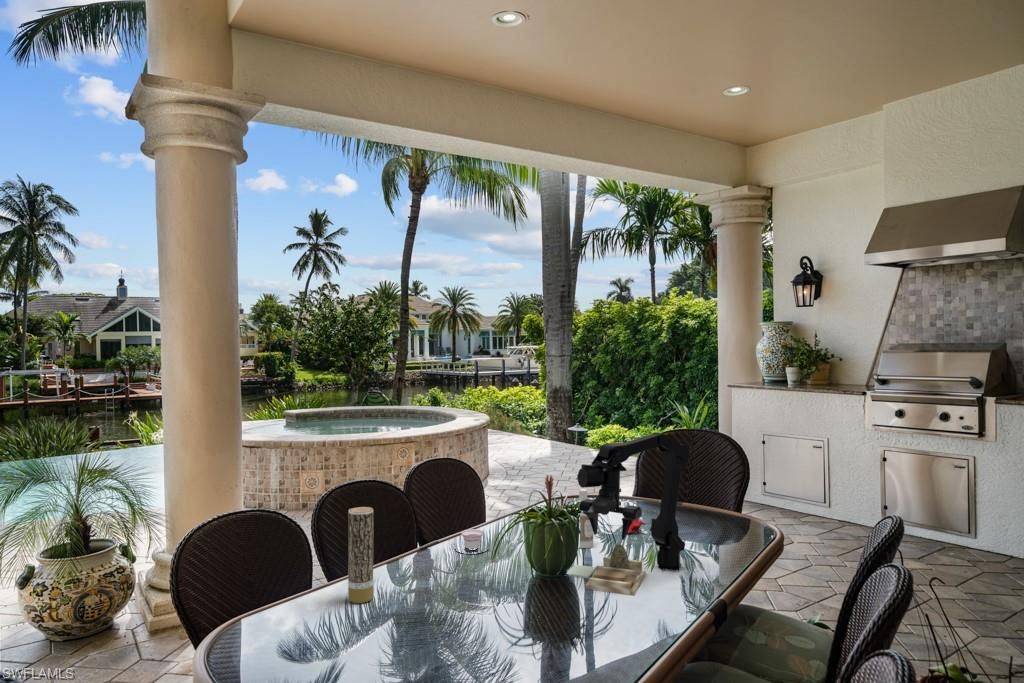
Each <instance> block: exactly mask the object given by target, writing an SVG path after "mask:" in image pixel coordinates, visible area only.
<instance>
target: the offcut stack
mask: <svg viewBox="0 0 1024 683" xmlns="http://www.w3.org/2000/svg"><path fill="white" fill-rule="evenodd" d="M594 573H595V574H593V575H594V578H598V579H605V580H613V581H621V582H628V583H631V589H632V587H633V585H634V581H633V580H627V573H620V572H612V571H603V570H597V571H596V570H595V571H594Z"/></svg>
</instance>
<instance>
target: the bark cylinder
mask: <svg viewBox="0 0 1024 683" xmlns="http://www.w3.org/2000/svg"><path fill="white" fill-rule="evenodd" d="M347 513H348V517H347V518H348V522H347V523H348V525H347V526H348V527H347V528H348V532H347V534H348V544H347V545H348V547H347V548H348V550H347V552H348V554H347V559H348V560H347V561H348V562H347V566H348V569H347V571H348V572H347V577H348V578H347V580H348V582H347V586H348V588H347V589H348V592H347V595H348V598H347V599H348V601H349V602H350V603H352V602H353V604H365V602H366V603H368V601H369V602H370V601H372V599H373V598H374V508H373V507H371V506H359V507H352V508H349V509H348V512H347Z"/></svg>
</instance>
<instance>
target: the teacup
mask: <svg viewBox="0 0 1024 683" xmlns="http://www.w3.org/2000/svg"><path fill="white" fill-rule="evenodd" d="M461 536H462V538H463V541H464V544H465V547H466V548H471V549H474V548H479V547H480V544H481V539H482V537H483V536H484V531H483V530H481V529H478V528H477V529H476V528H474V529H473V528H471V529H470V528H469V529H465V530H463V531H461Z"/></svg>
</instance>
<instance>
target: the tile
mask: <svg viewBox="0 0 1024 683" xmlns="http://www.w3.org/2000/svg"><path fill="white" fill-rule="evenodd" d="M573 565H574V566H573V567H572V568H571V569H570V570H569V571H568V572H567V573H566V574H568V575H573V576H572V577H575V576H578V577H577V578H583V577H584V579H589V578H591V577H592V576H593V575H594V574H593V573H595V572H596V566H588V565H582V564H581V565H580V564H573Z"/></svg>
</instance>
